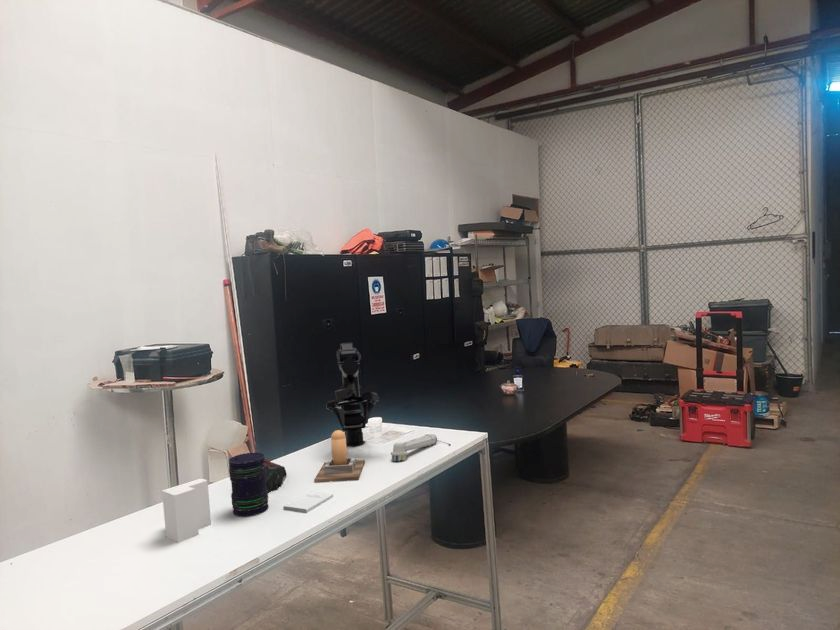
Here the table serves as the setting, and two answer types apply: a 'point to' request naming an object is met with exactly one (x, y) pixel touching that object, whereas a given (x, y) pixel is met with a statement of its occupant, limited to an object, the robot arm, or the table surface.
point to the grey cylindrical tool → (411, 446)
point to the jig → (340, 471)
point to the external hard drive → (308, 502)
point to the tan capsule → (339, 448)
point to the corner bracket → (186, 509)
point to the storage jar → (248, 484)
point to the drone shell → (274, 475)
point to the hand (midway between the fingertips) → (354, 425)
